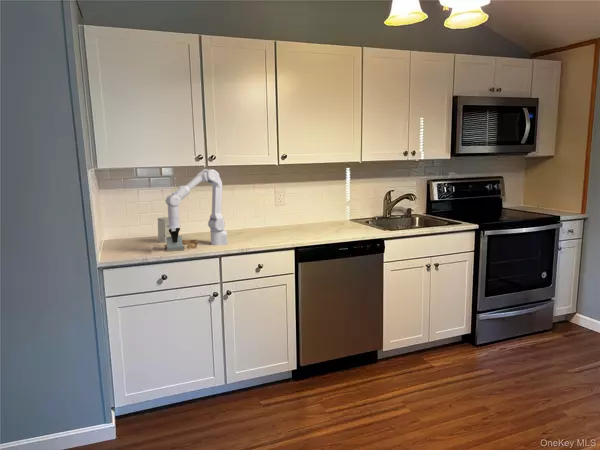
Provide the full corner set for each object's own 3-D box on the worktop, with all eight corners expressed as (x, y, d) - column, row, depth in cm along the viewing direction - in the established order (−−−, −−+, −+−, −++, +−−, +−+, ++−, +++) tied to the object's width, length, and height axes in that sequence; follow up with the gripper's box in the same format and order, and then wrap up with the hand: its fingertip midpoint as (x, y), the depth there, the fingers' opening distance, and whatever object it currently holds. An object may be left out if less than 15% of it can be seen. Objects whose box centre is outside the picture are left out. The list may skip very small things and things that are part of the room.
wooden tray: (197, 245, 262) (196, 239, 262) (196, 249, 251) (196, 243, 250) (167, 246, 259) (166, 240, 259) (165, 251, 247) (164, 245, 247)
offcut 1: (193, 246, 255) (193, 243, 255) (194, 247, 253) (194, 244, 252) (188, 246, 254) (188, 243, 254) (189, 247, 251) (188, 244, 251)
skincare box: (158, 242, 273) (156, 217, 270) (166, 240, 277) (165, 216, 275) (165, 244, 267) (164, 219, 265) (174, 242, 272) (173, 217, 269)
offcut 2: (195, 248, 256) (194, 246, 256) (194, 250, 252) (194, 247, 252) (188, 249, 255) (188, 246, 255) (188, 250, 251) (188, 248, 251)
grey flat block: (168, 249, 246) (166, 237, 245) (183, 248, 247) (181, 235, 246) (167, 250, 244) (166, 237, 243) (182, 248, 246) (181, 236, 244)
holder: (184, 250, 249) (184, 246, 249) (184, 252, 245) (184, 247, 244) (167, 251, 247) (167, 247, 247) (167, 253, 243) (166, 248, 243)
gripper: (167, 215, 249) (168, 239, 251) (164, 219, 235) (166, 245, 237) (180, 215, 250) (181, 239, 253) (178, 219, 236) (180, 244, 239)
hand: (175, 242), depth 245 cm, fingers closed on grey flat block, 2 cm apart
